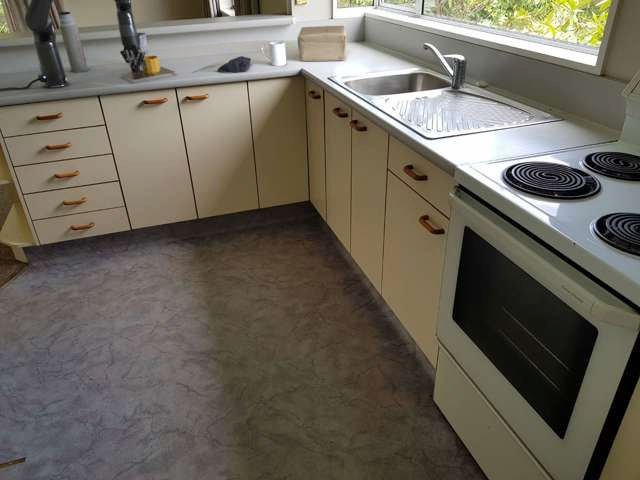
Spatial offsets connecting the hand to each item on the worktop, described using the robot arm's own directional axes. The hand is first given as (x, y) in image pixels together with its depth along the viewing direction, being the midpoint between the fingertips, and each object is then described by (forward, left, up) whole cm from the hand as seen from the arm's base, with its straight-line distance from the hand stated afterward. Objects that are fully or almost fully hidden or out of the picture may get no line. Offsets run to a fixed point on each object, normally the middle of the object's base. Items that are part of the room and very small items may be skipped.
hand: (136, 72), depth 243 cm
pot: (+6, +3, -2) cm, 7 cm away
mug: (+66, -21, -4) cm, 69 cm away
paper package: (+96, -25, -4) cm, 99 cm away
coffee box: (+14, +29, -4) cm, 32 cm away
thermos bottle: (-14, +41, -4) cm, 44 cm away
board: (+7, +3, -3) cm, 8 cm away
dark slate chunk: (+48, -13, -4) cm, 50 cm away
